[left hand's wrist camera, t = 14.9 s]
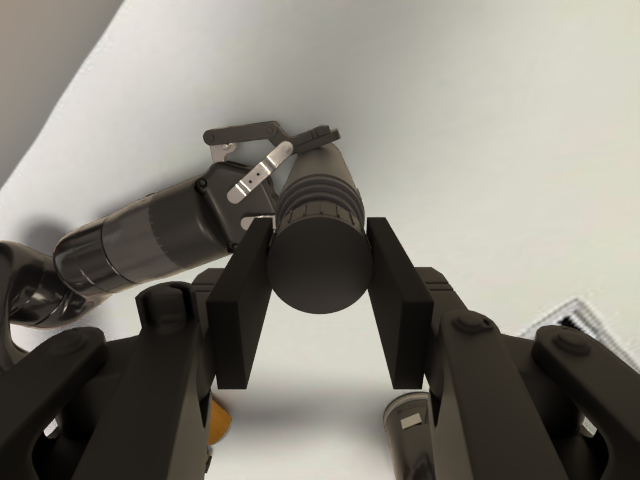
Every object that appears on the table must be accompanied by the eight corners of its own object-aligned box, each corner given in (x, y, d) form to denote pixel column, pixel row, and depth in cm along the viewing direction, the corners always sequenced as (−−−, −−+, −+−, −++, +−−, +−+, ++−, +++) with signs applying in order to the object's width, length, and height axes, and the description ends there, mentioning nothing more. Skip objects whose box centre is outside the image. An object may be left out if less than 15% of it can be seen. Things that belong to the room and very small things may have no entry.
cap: (322, 180, 13) (322, 192, 12) (387, 250, 14) (397, 270, 13) (251, 246, 14) (241, 266, 13) (318, 306, 16) (317, 333, 14)
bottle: (352, 156, 35) (408, 245, 13) (326, 195, 37) (337, 334, 14) (312, 130, 34) (297, 177, 12) (288, 171, 36) (235, 280, 13)
